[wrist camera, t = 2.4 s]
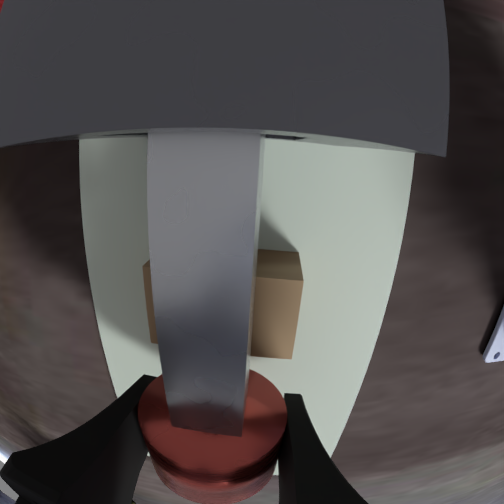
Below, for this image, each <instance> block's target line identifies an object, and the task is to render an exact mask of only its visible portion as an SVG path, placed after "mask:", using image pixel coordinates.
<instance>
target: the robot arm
mask: <svg viewBox="0 0 504 504" xmlns="http://www.w3.org/2000/svg"><path fill="white" fill-rule="evenodd" d="M483 359H484V361H485V362H487V363H489V362H496V361H503V360H504V306H503V309H502V312H501V314H500V317H499V319H498V322H497V324H496V326H495V329H494V331H493V334H492V336H491V338H490V340H489V343H488V345H487V347H486V349H485V351H484V353H483ZM156 378H157V377H155V376H150V375H145V374H144V375H142V376H141V377H140V378H139V379H138V380H137V381H136V382H135V383H134V384H133V385H132V386H131V387H130V388H128V389H127V390H126V391H125V392H124V393H123V394H122V395H121V396H120V397H118V398H117V399H116V400H115V401H114V402H113V403H111V404H110V405H109V406H108V407H107V408H105V409H104V410H103V411H101V412H100V413H99V414H97V415H96V416H95V417H93V418H92V419H91V420H89V421H88V422H86V423H85V424H83V425H81V426H80V427H78V428H77V429H75V430H73V431H71V432H69V433H67V434H65V435H63V436H61V437H59V438H57V439H55V440H53V441H50V442H48V443H45V444H42V445H40V446H37V447H33V448H30V449H26V450H22V451H18V452H13V453H12V454H11V456H10V457H9V459H8V460H7V462H6V463H5V465H4V466H3V468H2V469H1V471H0V476H1V478H2V479H3V480H4V481H5V482H6V483H7V484H8V485H9V486H10V487H11V488H12V489H13V490H14V491H15V492H16V493H17V494H18V495H19V497H18V499H17V501H14V500H13V499H11V498H10V497H8V496H7V495H6V494H4V493H3V492H1V490H0V504H131V502H132V498H133V494H134V490H135V486H136V483H137V479H138V476H139V473H140V470H141V468H142V466H143V463H144V461H145V459H146V456H147V454H148V452H149V451H148V449H147V446H146V443H145V440H144V437H143V434H142V431H141V427H140V424H139V420H138V406H139V401H140V399H141V396H142V394H143V392H144V391H145V389H146V388H147V387H148V385H149V384H150V383H151V382H152V381H153V380H154V379H156ZM283 399H284V401H285V404H286V407H287V423H286V427H285V432H284V436H283V440H282V444H281V448H280V453H279V457H278V473H279V504H368V503H367V502H366V501H365V500H364V499H363V498H362V497H361V496H360V495H359V494H358V493H357V492H356V490H355V489H354V488H353V487H352V486H351V485H350V484H349V483H348V481H347V480H346V479H345V478H344V476H343V475H342V474H341V473H340V471H339V470H338V468H337V467H336V466H335V464H334V463H333V461H332V460H331V458H330V456H329V455H328V453H327V451H326V450H325V448H324V446H323V444H322V443H321V441H320V439H319V437H318V435H317V433H316V431H315V429H314V427H313V424H312V422H311V420H310V417H309V415H308V412H307V410H306V407H305V404H304V401H303V397H302V395H301V394H294V393H284V398H283Z"/></svg>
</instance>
